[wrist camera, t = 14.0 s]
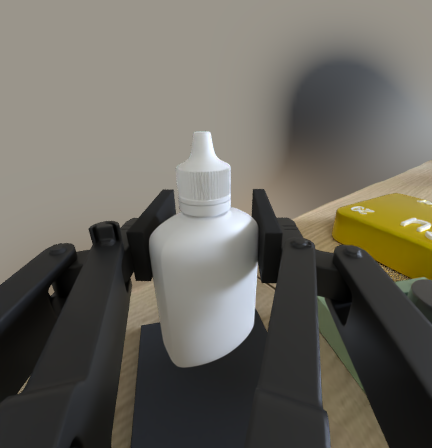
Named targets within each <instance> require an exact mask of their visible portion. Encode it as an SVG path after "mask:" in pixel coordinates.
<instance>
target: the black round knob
mask: <svg viewBox="0 0 432 448" xmlns="http://www.w3.org/2000/svg"><path fill="white" fill-rule="evenodd" d="M407 297H408V298H409V299H410V300H411V301H412V302H413V304H414V305H415V306H416V307H417V308H418V309H419V310H420V311H421V312H422V314H423V315H424V316H425V317H426V318H427V319H428V320H429V321H430V323H431V324H432V280H429V279H422V280H417V281H415V282H413V283H412V285H411V287H410V290H409V292H408V295H407Z"/></svg>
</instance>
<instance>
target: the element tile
mask: <svg viewBox="0 0 432 448" xmlns="http://www.w3.org/2000/svg"><path fill="white" fill-rule="evenodd" d="M332 237H333V238H334V239H335V240H336V241H338V242H339V243H341V244H343V245H353V246H357V247H359V248H361V249H363V250H365V251H366V252H368V253H369V254H370V255H371V256H372V258H373V259H374V260H375V261H377V262H379V263H381V264H383V265H385V266H387V267H389V268H391V269H393V270H395V271H397V272H399V273H401V274H403V275H405V276H407V277H409V278H411V279H414V278H420V277H426V278H427V279H429V280H432V202H431V201H427V200H423V199H419V198H415V197H411V196H407V195H403V194H398V193H394V194H388V195H384V196H381V197H377V198H373V199H370V200H366V201H362V202H358V203H355V204H351V205H347V206H343V207H340V208H338V210H337V212H336V216H335V221H334V226H333V230H332Z"/></svg>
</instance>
